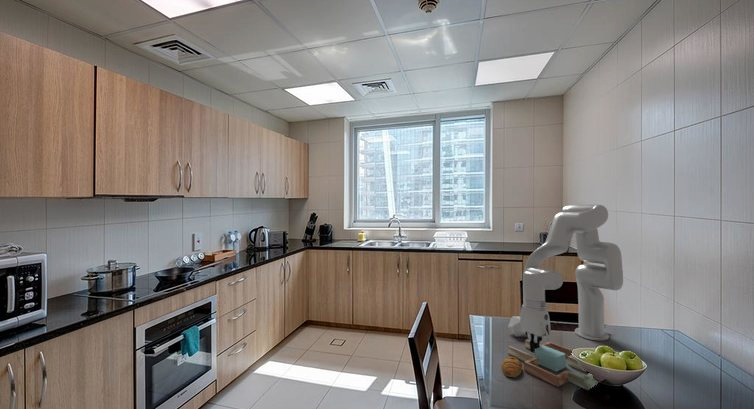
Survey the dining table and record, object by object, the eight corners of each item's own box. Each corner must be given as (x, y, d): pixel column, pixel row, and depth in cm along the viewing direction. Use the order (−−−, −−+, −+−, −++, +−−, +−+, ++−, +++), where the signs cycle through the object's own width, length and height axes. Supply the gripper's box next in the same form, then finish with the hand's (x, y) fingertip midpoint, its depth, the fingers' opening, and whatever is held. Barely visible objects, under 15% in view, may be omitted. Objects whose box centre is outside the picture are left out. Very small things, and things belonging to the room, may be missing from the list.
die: (529, 342, 135) (537, 321, 138) (509, 331, 137) (518, 310, 140) (520, 341, 143) (528, 321, 146) (502, 331, 144) (510, 311, 148)
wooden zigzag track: (535, 343, 132) (535, 334, 133) (615, 374, 107) (614, 362, 107) (498, 357, 120) (497, 347, 120) (577, 396, 95) (577, 383, 95)
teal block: (544, 358, 120) (544, 345, 120) (565, 367, 113) (565, 353, 113) (534, 362, 117) (534, 349, 117) (556, 372, 110) (555, 357, 110)
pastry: (521, 381, 104) (521, 369, 104) (500, 376, 107) (499, 365, 107) (522, 368, 113) (522, 357, 113) (502, 364, 116) (502, 354, 116)
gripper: (559, 307, 116) (559, 356, 115) (522, 297, 129) (523, 342, 128) (547, 310, 112) (547, 362, 112) (510, 300, 125) (511, 346, 125)
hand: (534, 351), depth 120 cm, fingers closed
